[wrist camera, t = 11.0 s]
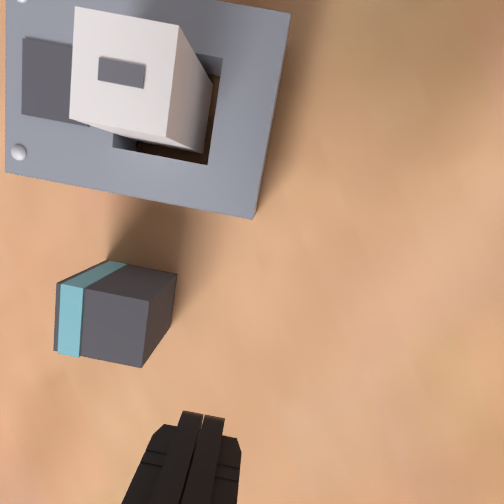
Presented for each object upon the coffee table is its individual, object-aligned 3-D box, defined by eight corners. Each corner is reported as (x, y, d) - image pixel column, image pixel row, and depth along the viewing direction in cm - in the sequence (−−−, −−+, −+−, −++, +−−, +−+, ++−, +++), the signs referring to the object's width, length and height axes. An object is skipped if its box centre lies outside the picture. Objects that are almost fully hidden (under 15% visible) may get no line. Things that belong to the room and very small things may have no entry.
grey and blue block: (177, 273, 21) (148, 301, 16) (169, 327, 22) (140, 369, 17) (105, 259, 21) (55, 282, 16) (101, 314, 22) (52, 352, 17)
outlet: (287, 41, 18) (291, 11, 14) (255, 214, 20) (252, 220, 17) (49, -2, 18) (3, -41, 15) (43, 174, 20) (2, 172, 17)
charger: (213, 84, 18) (178, 24, 11) (203, 154, 19) (165, 136, 12) (147, 72, 18) (73, 5, 11) (140, 141, 19) (67, 117, 12)
